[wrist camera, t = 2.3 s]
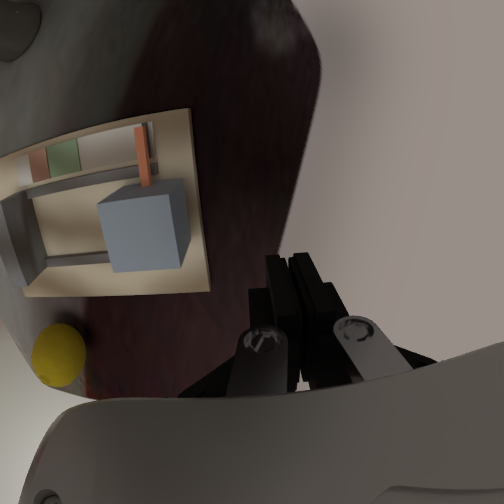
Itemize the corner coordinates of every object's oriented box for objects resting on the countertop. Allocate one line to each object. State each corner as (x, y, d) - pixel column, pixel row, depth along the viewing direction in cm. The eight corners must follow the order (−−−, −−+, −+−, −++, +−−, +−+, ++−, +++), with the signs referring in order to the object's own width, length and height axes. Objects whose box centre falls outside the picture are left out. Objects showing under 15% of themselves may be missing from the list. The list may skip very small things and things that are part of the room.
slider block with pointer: (115, 132, 17) (85, 137, 13) (177, 120, 18) (159, 121, 13) (134, 243, 21) (113, 272, 17) (191, 238, 21) (180, 268, 17)
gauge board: (-6, 161, 18) (-42, 175, 14) (190, 108, 19) (175, 105, 14) (30, 290, 24) (6, 319, 20) (211, 283, 25) (205, 322, 20)
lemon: (44, 315, 26) (10, 364, 18) (75, 303, 25) (39, 357, 18) (73, 351, 28) (47, 402, 21) (105, 343, 27) (80, 400, 20)
